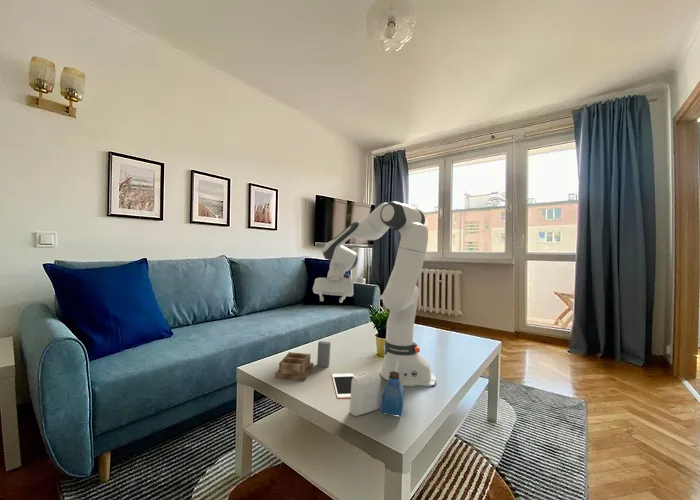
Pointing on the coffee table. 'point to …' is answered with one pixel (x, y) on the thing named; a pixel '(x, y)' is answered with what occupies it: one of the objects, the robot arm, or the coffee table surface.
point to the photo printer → (365, 393)
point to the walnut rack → (294, 367)
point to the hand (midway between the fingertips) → (331, 301)
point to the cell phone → (342, 385)
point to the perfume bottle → (393, 395)
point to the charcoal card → (323, 354)
